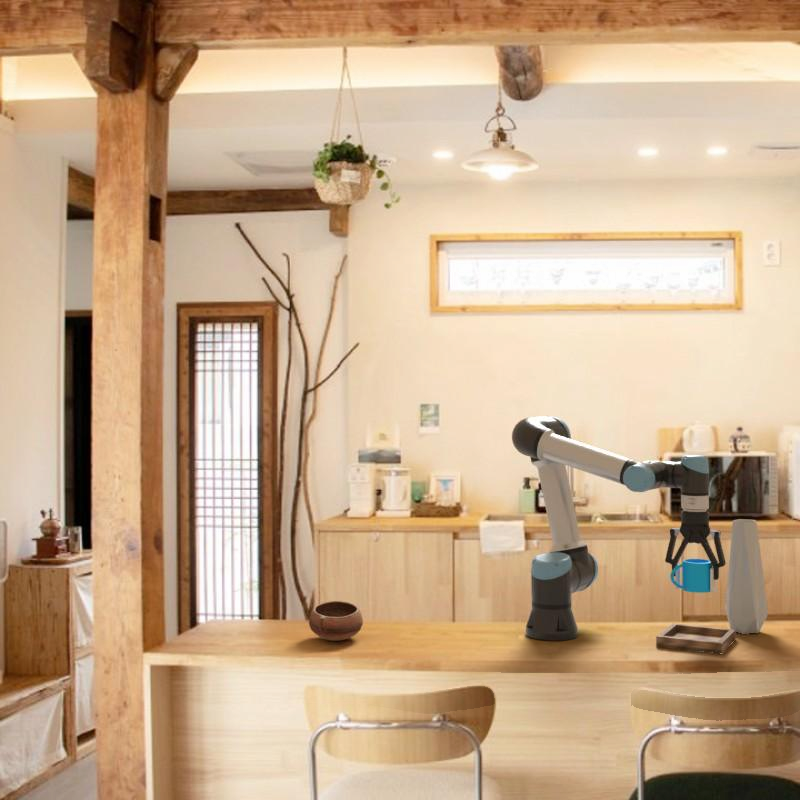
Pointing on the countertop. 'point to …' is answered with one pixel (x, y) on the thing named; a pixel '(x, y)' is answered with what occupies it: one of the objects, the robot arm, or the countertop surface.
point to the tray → (696, 638)
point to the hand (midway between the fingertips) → (695, 589)
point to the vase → (745, 580)
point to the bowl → (335, 620)
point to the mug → (694, 575)
